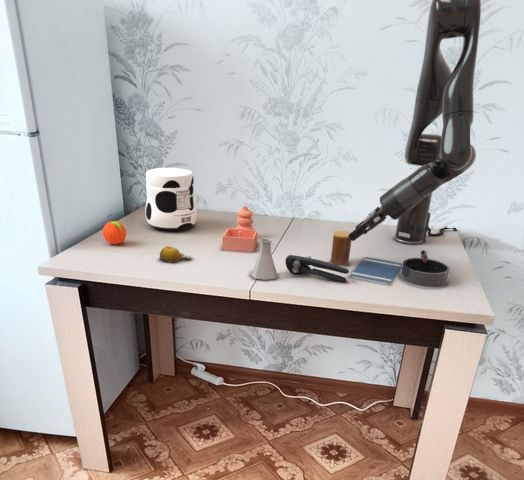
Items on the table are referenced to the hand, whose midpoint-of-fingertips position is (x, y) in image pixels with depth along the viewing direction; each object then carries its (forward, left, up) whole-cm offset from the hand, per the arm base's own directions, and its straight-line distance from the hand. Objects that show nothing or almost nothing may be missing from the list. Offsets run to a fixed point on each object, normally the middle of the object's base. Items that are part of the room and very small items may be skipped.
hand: (353, 234), depth 142 cm
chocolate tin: (+2, -2, -9) cm, 10 cm away
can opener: (+14, +5, -9) cm, 18 cm away
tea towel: (-5, +6, -9) cm, 12 cm away
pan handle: (-20, +8, -7) cm, 22 cm away
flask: (+27, 0, -9) cm, 29 cm away
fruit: (+46, -20, -9) cm, 51 cm away
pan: (-14, +16, -9) cm, 23 cm away
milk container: (+39, -52, -9) cm, 66 cm away
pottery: (+22, -29, -9) cm, 38 cm away
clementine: (+60, -38, -9) cm, 72 cm away
